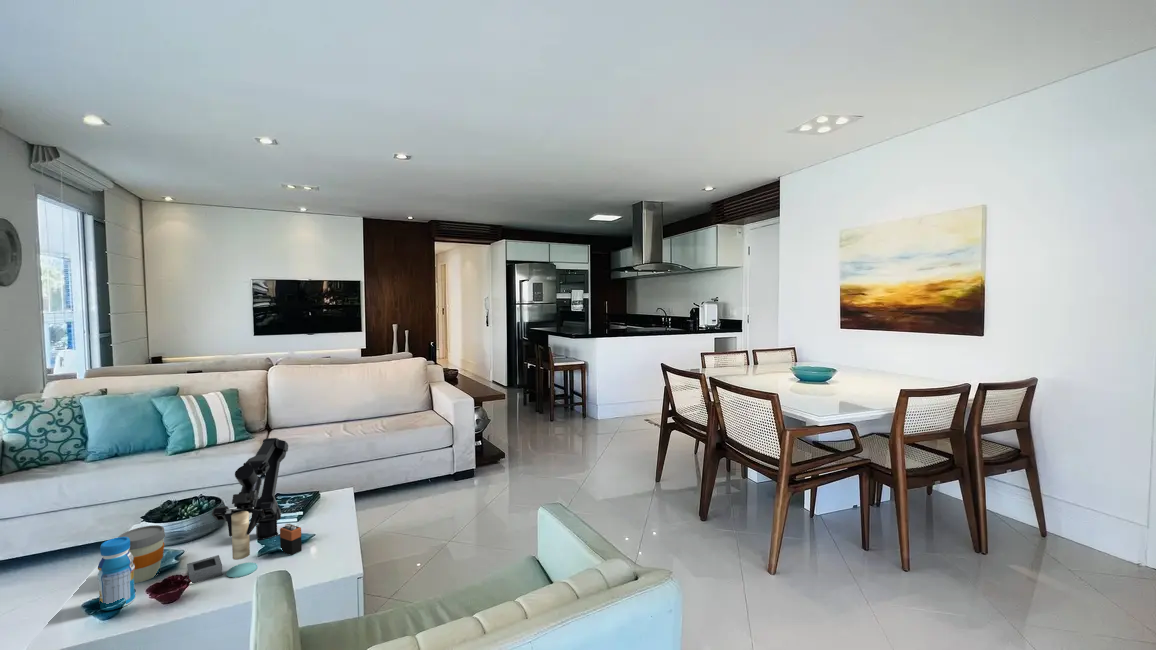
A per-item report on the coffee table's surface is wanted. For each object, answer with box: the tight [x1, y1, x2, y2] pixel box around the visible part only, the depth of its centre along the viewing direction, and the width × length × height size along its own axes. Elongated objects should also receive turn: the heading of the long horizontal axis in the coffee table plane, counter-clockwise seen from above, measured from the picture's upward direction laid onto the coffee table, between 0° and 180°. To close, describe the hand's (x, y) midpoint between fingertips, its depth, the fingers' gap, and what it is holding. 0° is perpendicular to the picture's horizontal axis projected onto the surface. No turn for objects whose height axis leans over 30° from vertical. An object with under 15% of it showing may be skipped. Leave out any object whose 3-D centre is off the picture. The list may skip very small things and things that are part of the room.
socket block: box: [186, 554, 223, 584], centre depth 170 cm, size 9×9×4 cm
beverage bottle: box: [97, 536, 136, 606], centre depth 153 cm, size 8×8×20 cm
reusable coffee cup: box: [118, 524, 166, 584], centre depth 169 cm, size 13×12×15 cm
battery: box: [279, 523, 303, 556], centre depth 186 cm, size 4×7×10 cm, turn 63°
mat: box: [225, 561, 258, 579], centre depth 172 cm, size 9×9×1 cm
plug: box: [231, 511, 251, 561], centre depth 172 cm, size 5×5×15 cm
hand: (239, 535), depth 171 cm, fingers closed on plug, 5 cm apart
